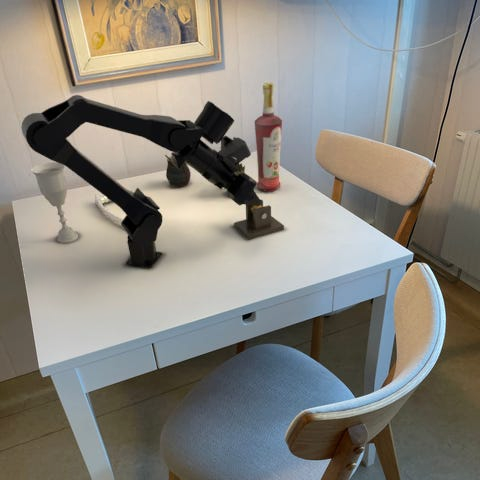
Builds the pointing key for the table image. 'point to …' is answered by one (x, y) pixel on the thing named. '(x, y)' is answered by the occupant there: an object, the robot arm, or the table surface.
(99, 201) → the door handle
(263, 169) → the liquor
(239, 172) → the cup
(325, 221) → the table surface
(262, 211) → the bracket
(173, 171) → the mate gourd
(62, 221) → the chalice
